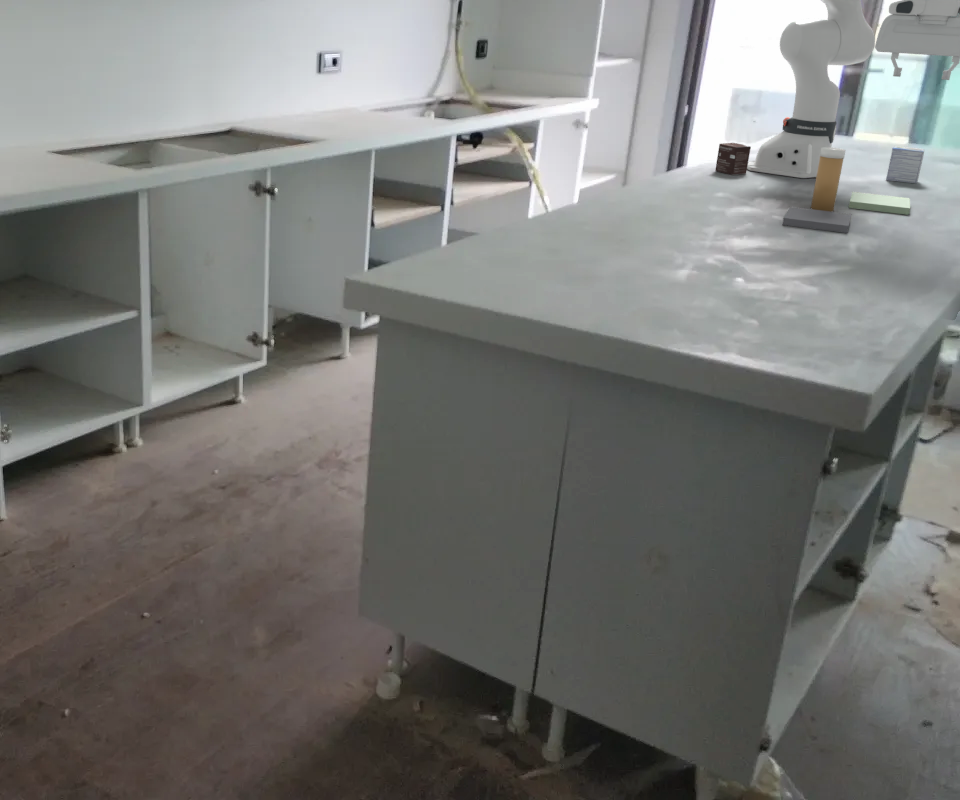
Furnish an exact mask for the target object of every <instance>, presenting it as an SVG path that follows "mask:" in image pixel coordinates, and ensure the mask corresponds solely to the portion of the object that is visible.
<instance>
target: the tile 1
mask: <svg viewBox="0 0 960 800" xmlns="http://www.w3.org/2000/svg"><path fill="white" fill-rule="evenodd" d="M782 219H783V220H782V226H787V225H788V226H789V227H797V228H804V229H813V230H820V231H828V232H829V231H830V232H834V233H835V232H837V233H845V234H848V232H849V228H850V223H851V219H852V213H846V212H838V211H822V210H814V209H811V208H805V207H803V208H802V207H795V206H789V207H788V209H787V211H786V212H785V215H784V216H783V218H782Z"/></svg>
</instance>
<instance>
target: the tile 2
mask: <svg viewBox="0 0 960 800" xmlns="http://www.w3.org/2000/svg"><path fill="white" fill-rule="evenodd" d="M850 195H851V196H850V200H849V203H848V208H849V209H856V210H863V211H864V210H865V211H872V212H873V211H875V212H882V213H890V214H898V215H906V216H907V215H910V212H911V198H909V197H901V196H893V195H886V194H885V195H884V194H877V193H875V194H874V193H867V192H859V191H851V194H850Z"/></svg>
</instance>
